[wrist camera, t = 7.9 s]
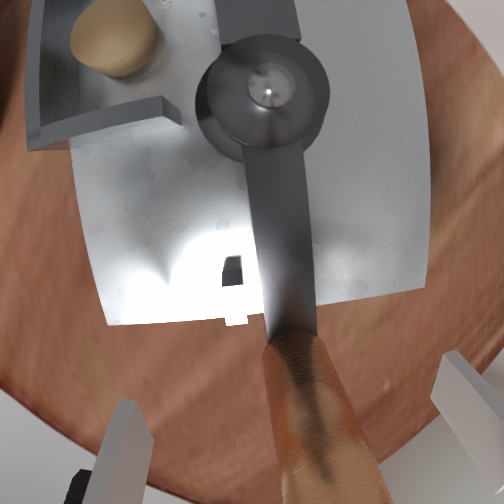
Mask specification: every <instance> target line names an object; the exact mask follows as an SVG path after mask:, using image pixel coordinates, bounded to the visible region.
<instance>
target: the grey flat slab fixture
mask: <svg viewBox="0 0 504 504" xmlns="http://www.w3.org/2000/svg"><path fill="white" fill-rule="evenodd" d="M95 1H97V0H32V4H31V11H30V18H29V26H28V35H27V47H26V63H25V121H26V138H27V150H28V151H44V150H71V157H72V166H73V173H74V181H75V187H76V194H77V200H78V206H79V211H80V217H81V222H82V227H83V232H84V237H85V242H86V246H87V251H88V255H89V259H90V263H91V267H92V271H93V275H94V279H95V283H96V286H97V290H98V294H99V297H100V301H101V304H102V307H103V311H104V314H105V317H106V320H107V324H108V325H125V324H142V323H157V322H171V321H183V320H195V319H206V318H217V317H225V319H226V325H237V324H246V323H247V314H254V313H263V310H262V302H261V294H260V287H259V279H258V272H257V264H256V257H255V249H254V242H253V234H252V227H251V219H250V212H249V204H248V197H247V189H246V182H245V174H244V167H243V160H242V152H241V145H240V144H239V143H237V142H235V141H233V140H232V139H231V138H229V137H228V136H227V135H226V134H225V133H224V132H223V131H222V129H221V128H220V126H219V125H218V123H217V121H216V119H215V117H214V115H213V113H212V110H211V108H210V105H209V101H208V96H207V81H208V77H209V73H210V70H211V68H212V66H213V64H214V62H215V60H216V59H217V58H218V56H219V55H220V54H221V48H220V40H219V33H218V25H217V18H216V10H215V3H214V0H142V1H143V2H144V4H145V5H146V7H147V8H148V10H149V12H150V13H151V15H152V17H153V18H154V20H155V22H156V23H157V25H158V27H159V28H160V30H161V32H162V34H163V38H164V47H163V51H162V54H161V56H160V58H159V60H158V62H157V63H156V64H155V65H154V67H153V68H152V69H151V70H149V71H148V72H147V73H145V74H144V75H142V76H140V77H138V78H136V79H133V80H128V81H116V80H113V79H110V78H108V77H107V76H105V75H103V74H101V73H99V72H98V71H96V70H94V69H92V68H91V67H89V66H87V65H85V64H83V63H82V62H80V61H78V60H77V59H76V58H75V56H74V55H73V53H72V51H71V47H70V36H71V31H72V28H73V26H74V24H75V22H76V20H77V19H78V17H79V16H80V15H81V13H82V12H83V11H84V10H85V9H86V8H87V7H88V6H90V5H91V4H92V3H94V2H95ZM294 3H295V7H296V12H297V17H298V22H299V27H300V32H301V37H302V39H301V41H300V42H299V43H301V44H302V45H304V46H305V47H307V48H308V49H309V50H310V51H311V52H312V53H313V54H314V55H315V56H316V57H317V58H318V60H319V61H320V62H321V64H322V66H323V67H324V69H325V71H326V74H327V77H328V80H329V85H330V101H329V106H328V109H327V112H326V114H325V116H324V118H323V120H322V122H321V123H320V125H319V126H318V127H317V128H316V129H315V130H314V131H313V132H312V133H311V134H310V135H308V136H307V137H306V138H304V139H302V145H303V153H304V162H305V171H306V180H307V190H308V200H309V211H310V222H311V234H312V247H313V261H314V277H315V294H316V305H323V304H330V303H337V302H343V301H349V300H356V299H362V298H368V297H374V296H379V295H385V294H391V293H396V292H402V291H407V290H412V289H417V288H422V287H425V282H426V272H427V262H428V249H429V233H430V205H431V177H430V149H429V133H428V121H427V111H426V102H425V93H424V86H423V79H422V73H421V67H420V61H419V55H418V50H417V45H416V40H415V35H414V31H413V26H412V22H411V18H410V14H409V10H408V6H407V3H406V0H294Z"/></svg>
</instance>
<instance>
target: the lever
mask: <svg viewBox="0 0 504 504" xmlns="http://www.w3.org/2000/svg"><path fill="white" fill-rule="evenodd" d="M214 3H215V10H216V18H217V25H218V33H219V40H220V48H221V54H220V55H219V56H218V58H217V59H216V60H215V62H214V64H213V66H212V68H211V70H210V73H209V77H208V81H207V96H208V101H209V105H210V108H211V110H212V113H213V115H214V117H215V119H216V121H217V123H218V125H219V126H220V128H221V129H222V131H223V132H224V133H225V134H226V135H227V136H228V137H229V138H231V139H232V140H233V141H235V142H237V143H239V144H240V145H241V152H242V160H243V167H244V174H245V182H246V189H247V197H248V204H249V212H250V219H251V227H252V234H253V242H254V249H255V257H256V264H257V272H258V279H259V287H260V294H261V302H262V310H263V317H264V325H265V332H266V340H267V346H266V347H265V349H264V351H263V355H262V364H263V371H264V378H265V384H266V391H267V398H268V404H269V411H270V417H271V424H272V430H273V437H274V443H275V450H276V456H277V463H278V469H279V476H280V482H281V488H282V495H283V501H284V504H394V502H393V500H392V498H391V495H390V493H389V490H388V488H387V486H386V484H385V481H384V479H383V476H382V474H381V471H380V469H379V467H378V464H377V462H376V460H375V457H374V455H373V453H372V450H371V448H370V446H369V443H368V441H367V439H366V436H365V434H364V432H363V430H362V427H361V425H360V423H359V420H358V418H357V416H356V414H355V411H354V409H353V407H352V405H351V402H350V400H349V398H348V396H347V393H346V391H345V389H344V387H343V385H342V382H341V380H340V378H339V376H338V374H337V371H336V369H335V367H334V365H333V363H332V360H331V358H330V356H329V354H328V352H327V349H326V347H325V345H324V343H323V341H322V340H321V339H320V338H319V337H318V336H317V315H316V294H315V277H314V261H313V247H312V234H311V222H310V211H309V200H308V190H307V180H306V171H305V162H304V153H303V145H302V139H304V138H306V137H307V136H308V135H310V134H311V133H312V132H313V131H314V130H315V129H316V128H317V127H318V126H319V125H320V123H321V122H322V120H323V118H324V116H325V114H326V112H327V109H328V106H329V101H330V85H329V80H328V77H327V74H326V71H325V69H324V67H323V66H322V64H321V62H320V61H319V60H318V58H317V57H316V56H315V55H314V54H313V53H312V52H311V51H310V50H309V49H308V48H307V47H305V46H304V45H302V44H301V43H299V42H300V41H301V39H302V37H301V32H300V27H299V22H298V17H297V12H296V7H295V3H294V0H214Z"/></svg>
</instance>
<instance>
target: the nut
mask: <svg viewBox="0 0 504 504" xmlns="http://www.w3.org/2000/svg"><path fill="white" fill-rule="evenodd" d="M70 47H71V51H72V53H73V55H74V56H75V58H76V59H77V60H78V61H80V62H82V63H83V64H85V65H87V66H89V67H91V68H92V69H94V70H96V71H98V72H99V73H101V74H103V75H105V76H107V77H108V78H110V79H113V80H116V81H128V80H133V79H136V78H138V77H140V76H142V75H144V74H145V73H147V72H148V71H149V70H151V69H152V68H153V67H154V65H155V64H156V63H157V62H158V60H159V58H160V56H161V54H162V51H163V47H164V38H163V34H162V32H161V30H160V28H159V27H158V25H157V23H156V22H155V20H154V18H153V17H152V15H151V13H150V12H149V10H148V8H147V7H146V5H145V4H144V2H143V1H142V0H97V1H95V2H94V3H92V4H91V5H90V6H88V7H87V8H86V9H85V10H84V11H83V12H82V13H81V15H80V16H79V17H78V19H77V20H76V22H75V24H74V26H73V28H72V31H71V36H70Z"/></svg>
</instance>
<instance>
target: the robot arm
mask: <svg viewBox="0 0 504 504" xmlns="http://www.w3.org/2000/svg"><path fill="white" fill-rule="evenodd" d="M430 399H431V400H432V401H433V403H434V404H435V406H436V407H437V409H438V410H439V411H440V413H441V414H442V416H443V417H444V419H445V420H446V421H447V423H448V424H449V426H450V427H451V429H452V430H453V432H454V433H455V434H456V436H457V438H458V439H459V440H460V442H461V443H462V445H463V446H464V448H465V449H466V451H467V452H468V454H469V456H470V457H471V459H472V460H473V462H474V463H475V464H476V466H477V468H478V469H479V471H480V472H481V474H482V476H483V477H484V479H485V480H486V482H487V484H488V485H489V487H490V488H491V490H492V492H493V493H494V495H496V494H497V493H499V492H500V491H501V490H503V489H504V400H503V399H502V398H501V397H500V396H499V395H498V394H497V393H496V392H495V390H494V389H493V388H492V387H491V386H490V385H489V384H488V383H487V382H486V381H485V380H484V379H483V378H482V376H481V375H480V374H479V373H478V372H477V371H476V370H475V369H474V368H473V367H472V366H471V365H470V364H469V363H468V362H467V361H466V360H465V359H464V358H463V357H462V356H461V354H460V353H459V352H458V351H457V350H453V351H450V352H447V353H443V355H442V359H441V363H440V366H439V370H438V373H437V377H436V380H435V384H434V387H433V390H432V393H431V396H430ZM153 445H154V439H153V437H152V435H151V433H150V431H149V429H148V426H147V424H146V422H145V420H144V418H143V415H142V413H141V411H140V409H139V406H138V404H137V402H136V400H135V399H118V402H117V404H116V407H115V410H114V412H113V415H112V418H111V420H110V423H109V426H108V428H107V431H106V434H105V437H104V439H103V442H102V445H101V448H100V451H99V453H98V456H97V459H96V462H95V465H94V468H93V471H90V470H84V469H80V470H79V472H78V473H77V474H76V475H75V476H74V477H73V478H72V481H71V484H70V487H69V491H68V492H67V495H66V500H65V501H64V504H142V501H143V496H144V490H145V485H146V480H147V475H148V470H149V465H150V460H151V455H152V450H153Z"/></svg>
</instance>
